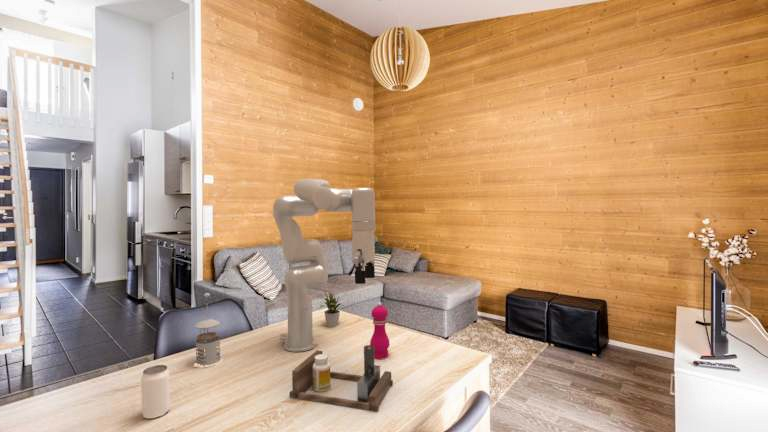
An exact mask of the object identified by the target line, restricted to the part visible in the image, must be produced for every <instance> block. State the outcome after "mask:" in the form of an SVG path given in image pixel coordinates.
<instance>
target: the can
mask: <svg viewBox="0 0 768 432" xmlns="http://www.w3.org/2000/svg"><path fill="white" fill-rule="evenodd" d="M140 380H141V387H140V388H141V413H142V415H143V416H145V417H154V416H158V415H161V414H164V413H165V412H167V411H168V410H169V409H170V410H171V392H170V390H171V388H170V385H171V384H170V383H171V382H170V372H169V369H168V365H164V364H156V365H152V366H150V367H147V368H145V369H144V370H143V371H142V376H141V379H140ZM170 410H169V411H170ZM169 411H168V412H169ZM143 416H142V417H143Z"/></svg>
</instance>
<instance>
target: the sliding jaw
mask: <svg viewBox="0 0 768 432" xmlns="http://www.w3.org/2000/svg"><path fill="white" fill-rule="evenodd" d="M363 368H364V371H363V374H362V375H361V376H362V377H361V378H360V380H359V381H356V382H357V383H356V385H357V387H356V388H357V399H356V401H360V402H367V403H369V395H370V393H371V392H372V390H373V389H374V387H375V386H376V384H377V383H378V381H379V380H380V378H381V365H375V358H374V346H372V345H370V344H367V345H364V346H363Z"/></svg>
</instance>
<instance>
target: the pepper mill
mask: <svg viewBox="0 0 768 432" xmlns="http://www.w3.org/2000/svg"><path fill="white" fill-rule="evenodd" d="M388 315H389V313H388V309H387V307H385V306H383V303H382V302H381V301H378V302H377V304H376V306H375V307H373V308H372V310H371V317H372V318H373V319H372V324H373V326H374V330H373V334H372V336H371V338H370V340H369V345H372V346H374V359H380V360H381V359H385V358H388V357H389V350H388V349H389V348H390V338H389V336H388V335H387V332H386V324H387V317H388Z"/></svg>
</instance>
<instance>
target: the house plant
mask: <svg viewBox="0 0 768 432" xmlns="http://www.w3.org/2000/svg"><path fill="white" fill-rule="evenodd" d="M322 292H323V293H324V295H325V297H324V296H322V295H320V294H319V297H320V296H321V297H320V298H322V299H323V301H324V304H325V305H322V304H320V303H319V305H320V306H319V307H318V309H320V308H322V307H324V309H326V308H327V309H326V310H324V317H325V324H326V326H327V327H331V328H333V327H338V325H339V320H340V310H339V308H341V307H344V306H345V305H344V304H342V303H338V302H339V301H340V299H342V298H343V297H344V296H346V295H347V294H344V295H342V296H341V294H339V295H338V296H337V297H334V292H335V291H333V293H332V292H331V291H330V290H328V294H327V292H326V291H322ZM340 296H341V297H340Z"/></svg>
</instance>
